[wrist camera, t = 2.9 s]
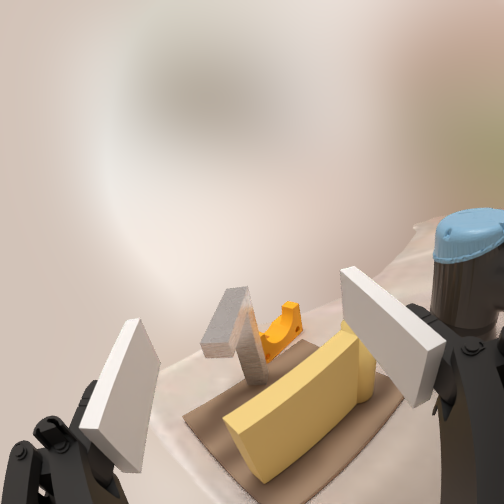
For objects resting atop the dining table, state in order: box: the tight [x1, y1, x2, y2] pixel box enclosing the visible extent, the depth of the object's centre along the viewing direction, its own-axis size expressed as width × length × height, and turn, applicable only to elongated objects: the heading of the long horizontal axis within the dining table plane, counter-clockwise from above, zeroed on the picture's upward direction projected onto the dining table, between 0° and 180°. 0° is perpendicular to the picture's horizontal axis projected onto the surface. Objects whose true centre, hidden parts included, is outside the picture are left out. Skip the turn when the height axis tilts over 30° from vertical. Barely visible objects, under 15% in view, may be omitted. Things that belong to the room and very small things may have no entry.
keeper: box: [200, 287, 268, 385], centre depth 35 cm, size 12×3×17 cm, turn 172°
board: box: [182, 339, 404, 504], centre depth 33 cm, size 22×25×1 cm
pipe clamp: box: [259, 301, 303, 364], centre depth 49 cm, size 12×4×6 cm, turn 138°
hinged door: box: [223, 320, 376, 484], centre depth 26 cm, size 20×4×15 cm, turn 128°
